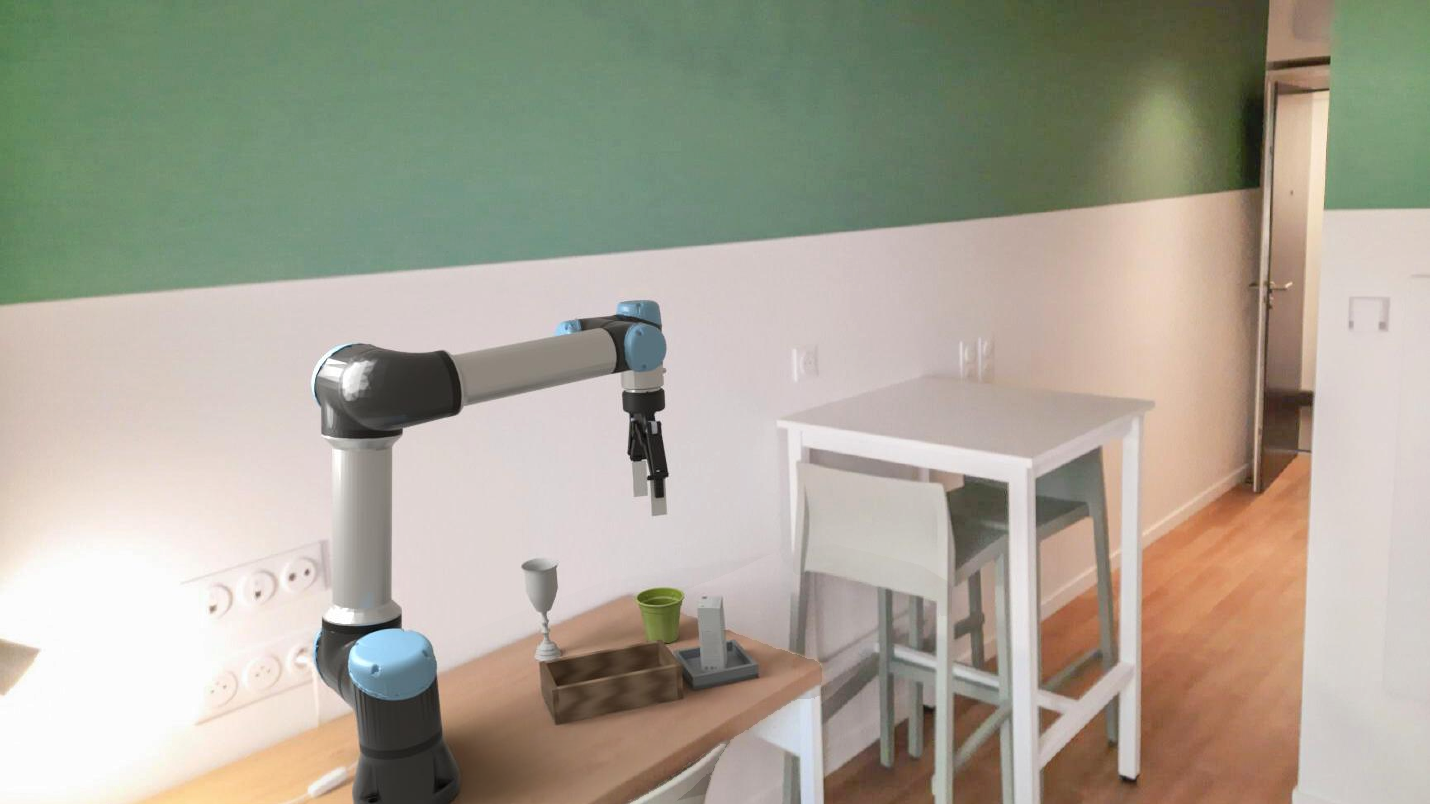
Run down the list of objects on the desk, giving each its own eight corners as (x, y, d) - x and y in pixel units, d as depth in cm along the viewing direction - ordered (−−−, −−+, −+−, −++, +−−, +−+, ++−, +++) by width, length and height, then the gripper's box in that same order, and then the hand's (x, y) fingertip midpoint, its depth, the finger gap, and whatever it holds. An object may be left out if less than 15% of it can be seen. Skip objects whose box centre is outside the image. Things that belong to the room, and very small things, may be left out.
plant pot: (696, 633, 210) (693, 591, 209) (668, 652, 203) (666, 608, 201) (656, 625, 215) (654, 584, 214) (628, 643, 208) (625, 600, 206)
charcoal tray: (693, 690, 186) (693, 677, 186) (673, 663, 197) (672, 650, 197) (758, 677, 190) (758, 664, 190) (735, 651, 201) (734, 639, 201)
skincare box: (725, 673, 191) (722, 608, 188) (700, 673, 191) (696, 608, 189) (728, 658, 197) (724, 595, 194) (703, 658, 197) (699, 595, 195)
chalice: (558, 664, 200) (550, 571, 196) (523, 662, 201) (515, 570, 198) (571, 647, 207) (564, 557, 203) (537, 646, 208) (529, 557, 205)
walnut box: (554, 724, 177) (552, 690, 176) (541, 694, 188) (539, 661, 187) (683, 698, 184) (681, 665, 182) (663, 670, 195) (661, 639, 194)
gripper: (682, 397, 180) (688, 520, 184) (646, 377, 203) (652, 486, 207) (639, 401, 178) (645, 526, 182) (607, 380, 201) (614, 491, 205)
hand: (649, 505), depth 194 cm, fingers open, 13 cm apart
